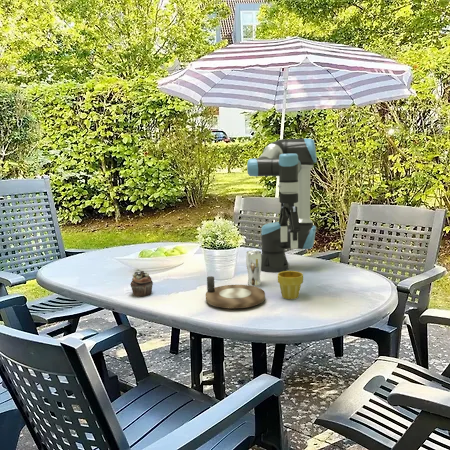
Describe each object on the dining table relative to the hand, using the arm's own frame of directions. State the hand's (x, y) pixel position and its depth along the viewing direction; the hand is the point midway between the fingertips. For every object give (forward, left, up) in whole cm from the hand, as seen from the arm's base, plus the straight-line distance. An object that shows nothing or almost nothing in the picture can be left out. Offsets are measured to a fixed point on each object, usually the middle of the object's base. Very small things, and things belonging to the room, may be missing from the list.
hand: (289, 245), depth 193 cm
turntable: (+23, -1, -21) cm, 31 cm away
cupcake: (+60, -21, -22) cm, 67 cm away
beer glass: (+10, -21, -22) cm, 32 cm away
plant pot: (0, 0, -22) cm, 22 cm away
